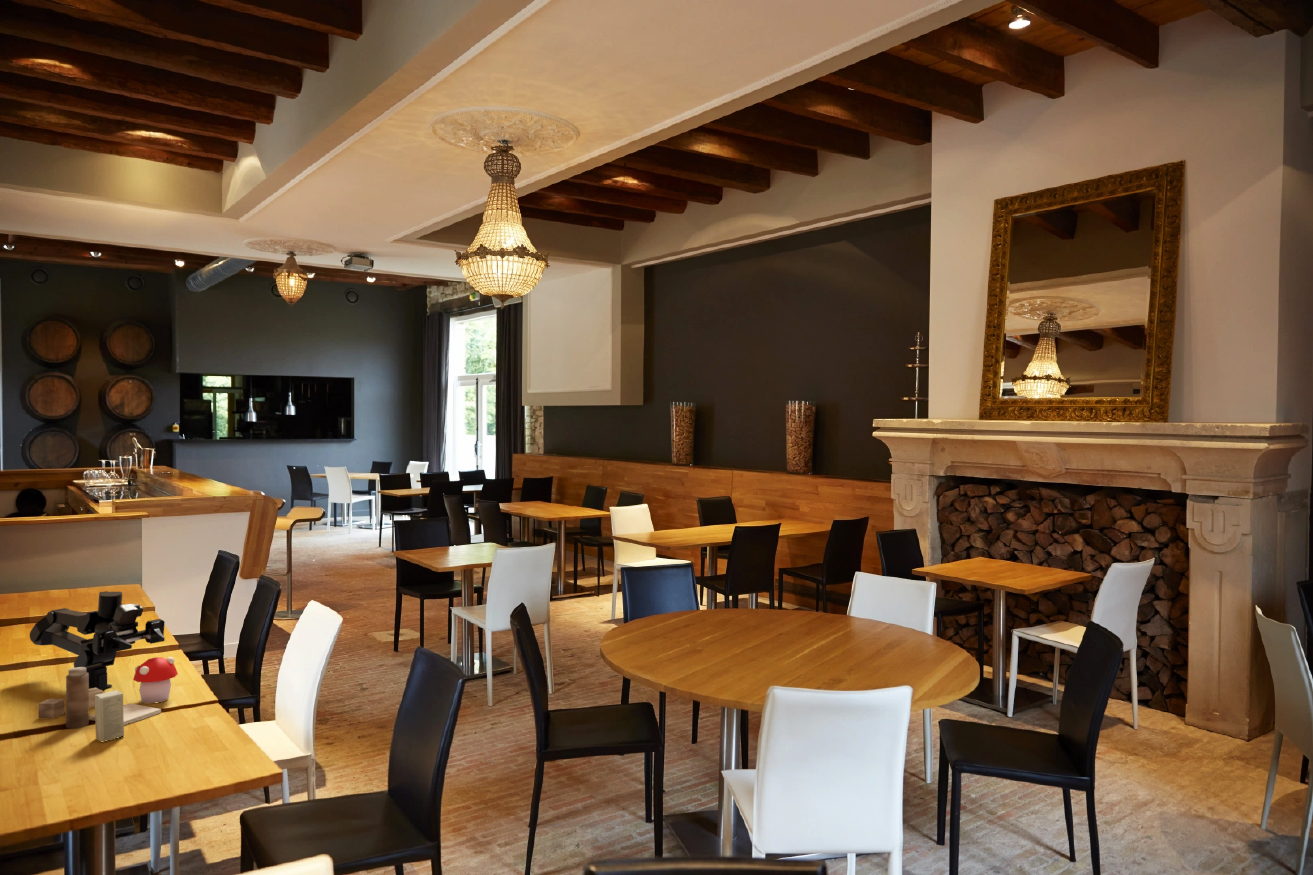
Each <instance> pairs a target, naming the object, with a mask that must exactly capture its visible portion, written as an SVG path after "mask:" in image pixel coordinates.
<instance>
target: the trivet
mask: <svg viewBox="0 0 1313 875" xmlns="http://www.w3.org/2000/svg"><path fill="white" fill-rule="evenodd" d="M161 713H162V709H161V708H156V707H151V706H145V705H139V704H135V703H130V702H129V703H126V704H123V716H124V726H127V725H129V724H128V723H130V724H132V723H135V722H138V721H141V720H144V719H147V718H150V717H153V716H157V715H159V714H161ZM89 720H90V721H95V713H94V714H92V715H89ZM126 724H127V725H126Z"/></svg>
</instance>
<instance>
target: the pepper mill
mask: <svg viewBox="0 0 1313 875" xmlns="http://www.w3.org/2000/svg"><path fill="white" fill-rule="evenodd" d="M89 710H90V708H89V673H87V672H86V667H76V668H74V667H72V668H70V669H68V674H67V675H65V711H66V712H65V728H66V729H69V730H70V729H73V730H75V729H79V728H84V727H86V726H88V725H89V722H90V721H89V720H90V714H89V712H90V711H89Z"/></svg>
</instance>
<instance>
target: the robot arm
mask: <svg viewBox="0 0 1313 875" xmlns="http://www.w3.org/2000/svg"><path fill="white" fill-rule="evenodd" d="M143 611H144V608H143V607H142V606H141V605H140V604H137V603H126V604H123V592H122V591H106V590H105V591H100V592H99V593H98V603H97V610H94V611H93V610H92V611H90V612H83V611H78V610H72V609H69V608H66V607H64V608H63V607H62V608H58V609H51V610H50V611H48V612H47V613H46V615H45V616H43V618H40V620H39V621H37V622H35V624H33V627H32V628H31V630H30V631H29V639H30V641H31V642H32V644H34V645H36V646H54V647H57V648H59V649H62V650H64V651H66V652H70V653H72V654H74V655H77V657H76V659H75V660H74V661H73V668H76V667H86V672H87V673H89V689H91V688H98V689H100V690H102V691H103V690H104V689H108V688H112V687H113V684H110V683H108V666H114V665H115V660H116V656H117V652H118V653H119V652H121V651H126V650H131V649H132V648H133V644H136V641H141V640H145V642H146V643H149V644H150V645H151V644H156V643H161V642H165V636H164V635H165V624H166V623H165V621H164V619H161V618H156V619H151V620H147V621H146V622H145V626H144V629H143V630H138V627H139V622H138V621H136V620H137V618H139V617H141V616H142V615H143ZM71 627H72V628H76V631H77V632H78V633H80V634H81V635H84V636H86V635H92V634H93V635H92V638H84V637H82V636H80V635H77V634H74V633H71V632H69V631H68V630H69V629H70V628H71Z"/></svg>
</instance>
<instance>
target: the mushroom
mask: <svg viewBox="0 0 1313 875" xmlns="http://www.w3.org/2000/svg"><path fill="white" fill-rule="evenodd" d="M178 674H179V673H178V671H177V669H176V666H175V658H174V657H172V656H167V657H166V658H164V657H159V656H158V657H157V656H156V657H151V658H148V659H146V660H145V661H144V662H142V664H140V665H137V666H135V667H134V676H133V679H132V680H133V681H135V682H137V683H140V686H139V689H138V690H139V695H140V700H141V703H142V702H143V703H142V704H144V703H155V702H161V703H163V701H164V702H166V701H165V700H167V699H168V698H169V697H170V693H171V690H172V689H171V687H172V683H171V679H173V678H176V677H177V676H178ZM169 699H170V698H169ZM169 699H168V700H169ZM168 700H167V701H168ZM155 704H156V703H155Z"/></svg>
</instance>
